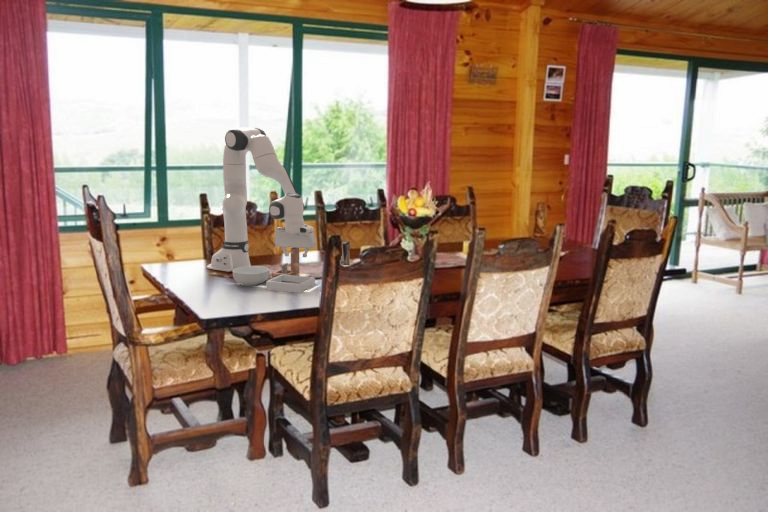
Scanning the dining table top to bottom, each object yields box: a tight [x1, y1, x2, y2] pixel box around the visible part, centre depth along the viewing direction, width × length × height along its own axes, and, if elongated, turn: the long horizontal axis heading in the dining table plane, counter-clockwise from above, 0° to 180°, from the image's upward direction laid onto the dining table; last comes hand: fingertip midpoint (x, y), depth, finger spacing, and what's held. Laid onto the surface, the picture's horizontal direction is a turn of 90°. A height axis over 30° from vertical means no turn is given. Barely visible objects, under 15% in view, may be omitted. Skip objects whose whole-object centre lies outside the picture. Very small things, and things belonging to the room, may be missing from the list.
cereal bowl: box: [231, 265, 270, 287], centre depth 323 cm, size 17×17×7 cm
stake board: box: [268, 262, 311, 279], centre depth 336 cm, size 16×13×7 cm
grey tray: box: [265, 274, 316, 294], centre depth 318 cm, size 17×15×4 cm
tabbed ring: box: [271, 247, 301, 277], centre depth 335 cm, size 12×9×14 cm
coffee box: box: [341, 240, 351, 265], centre depth 344 cm, size 9×6×16 cm
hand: (295, 256), depth 333 cm, fingers open, 8 cm apart
